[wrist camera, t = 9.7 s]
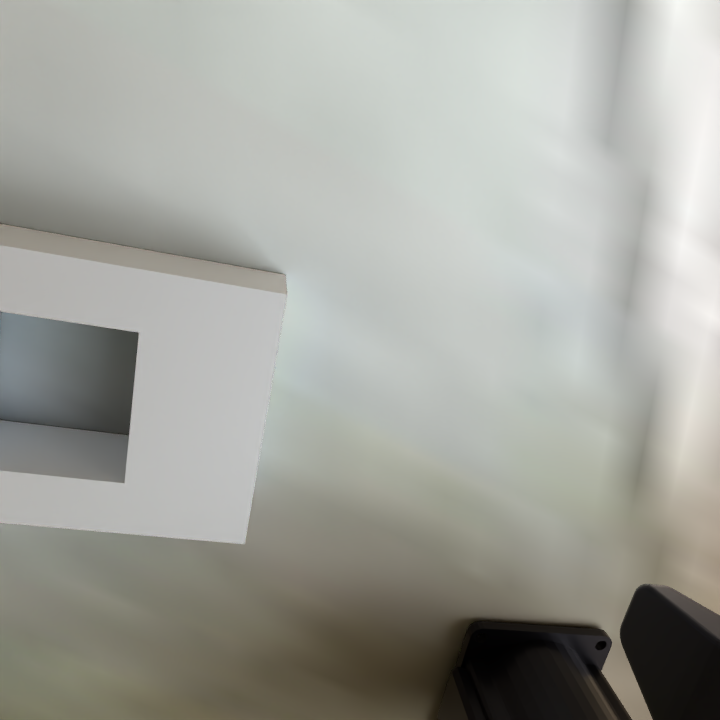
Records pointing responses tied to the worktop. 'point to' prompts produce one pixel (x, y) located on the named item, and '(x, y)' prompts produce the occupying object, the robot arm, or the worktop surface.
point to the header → (147, 390)
